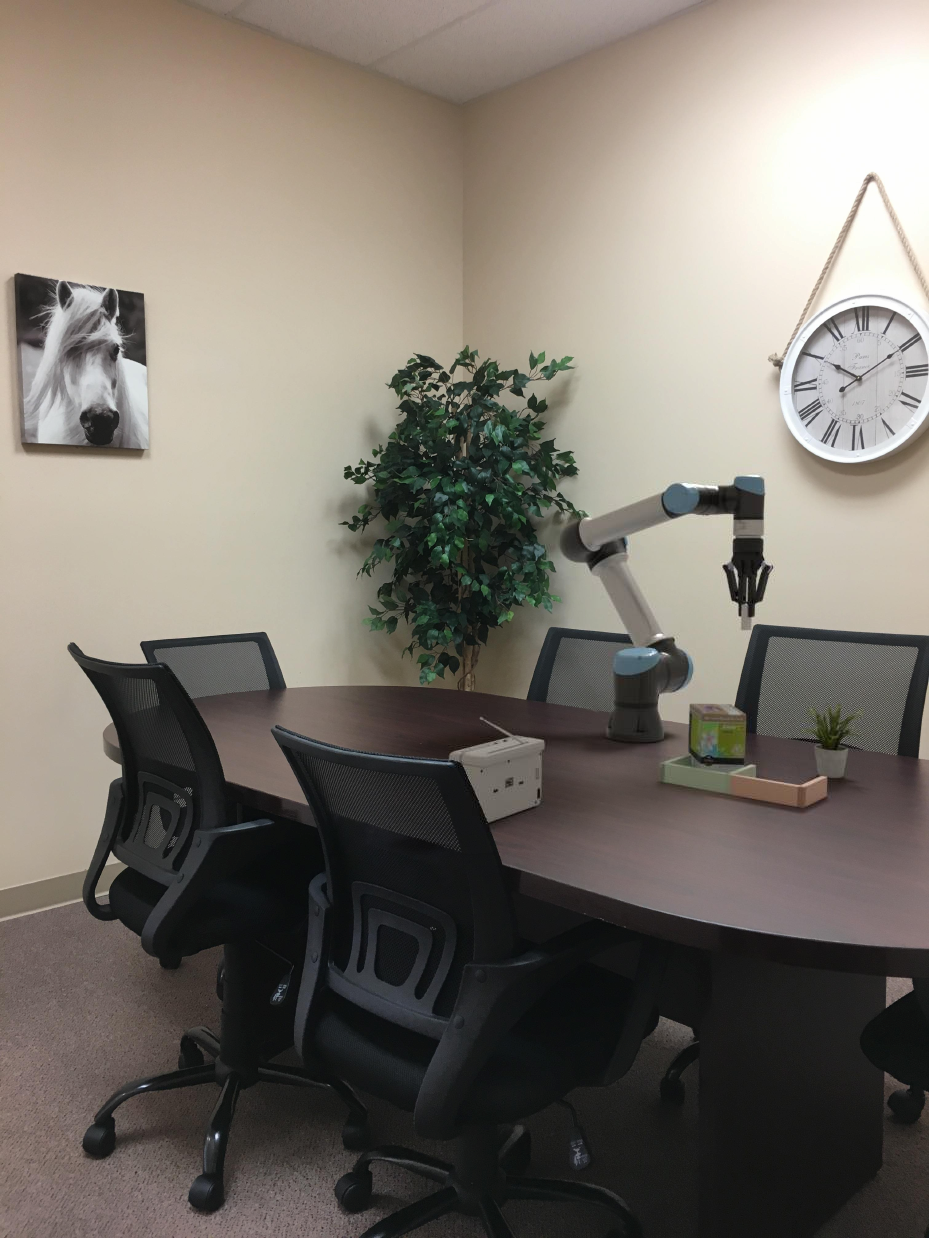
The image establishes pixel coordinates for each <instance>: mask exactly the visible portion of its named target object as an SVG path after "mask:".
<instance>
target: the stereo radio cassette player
mask: <svg viewBox="0 0 929 1238" xmlns="http://www.w3.org/2000/svg"><path fill="white" fill-rule="evenodd" d="M479 720H481V721H484V722H486V723H487V724H489V726H492V728H494V729H497V730H499V731H500V732H501V733H503V734H505V735H506V736H508V737H506V738H502V739H497V740H494V741H489V742H485V743H481V744H478V745H474V746H470V747H466V748H462V749H460V750H459V749H458V750H454V751H452V752H450V753H449V756H448V761H449V760H454V761H458V762H460V763H461V764H462V765H463V767H464V769H465V771H466V774H467V776H468V779H469V781H470V783H471V785H472V787H473V789H474V791H475V794H476V796H477V798H478V800H479V803H480V805H481V807H482V809H483V812H484V814H485V817H486V818H487V821H488V823H492V822H494V821H497V820H500V819H502V818H506V817H508V816H511V815H514V814H517V813H519V812H523V811H524V810H527V809H531V808H533V807H537V806H538V805H540V803H541V798H542V751H543V750H545V746H546V745H545V740H544V739H539V738H534V737H526V736H520V735H513V734H512V733H510V732H508V731H506V730H504V729H503V728H501V727H500V726H497V725H496V724H493V723H491V722H490V721H488V720H486V719H484V718H483V717H482V716H480V717H479ZM488 823H487V824H488Z"/></svg>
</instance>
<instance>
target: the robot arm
mask: <svg viewBox="0 0 929 1238" xmlns="http://www.w3.org/2000/svg"><path fill="white" fill-rule="evenodd" d="M732 483H733V484H726V485H721V484H720V485H710V484H698V483H697V484H696V483H691V482H690V483H689V482H682V481H681V482H674V483H673V484H670V485H669V486H668V487H667V488H666V489H665V491H662V492H659V493H657V494H656V493H655V494H654V495H651V496H650V497H649V496H648V497H646V498H644V499H641V500H639V501H636V502H633V503H630V504H628V505H626V506H622V507H620V508H618V509H615V510H613V511H609V512H606V513H604V514H602V515H599V516H597V517H594V518H592V517H589V516H587V517H584V518H580V519H578V520H574V521H572V522H570V523H569V524H568V523H567V525H565V526H564V527H563V528H562V530H561V532H560V534H559V536H558V547H559V551H560V552H561V555H562V556H564V557H565V558H566V559H567V560H568V561H570V562H574V563H577V564H580V563H581V564H582V563H583V564H585V563H586V566H587V567H588V569H589V571H590V573H591V575H592V576H595V577H598V578H599V579H600V581H601V583H602V585H603V587H604V590H605V591H606V593H607V595H608V596H609V599H610V600H611V602H612V604H613V606H614V609H615V610H616V613H617V614H618V617H619V618H620V620H621V622H622V624H623V626H624V628H625V630H626V632H627V634H628V636H629V638H630V640H631V641H632V644H633V646H634V648H626V649H623V650H620V651H618V652H616V653H615V655H614V660H613V666H612V668H613V707H612V708H613V709H612V711H611V714H610V717H609V721H608V722H607V723H608V724H607V725H606V738H608V739H609V740H610V739H611V740H612V741H613V740H614V741H618V742H626V743H654V742H659V741H662V740H664V739H665V729H664V728H665V727H664V726H663V722H662V719H661V716H660V712H659V707H658V706H659V695H663V694H671V693H676V692H678V691H681V690H683V689H685V688H686V687H687V686H688V685H689V684H690V683H691V680H692V679H693V675H694V662H693V660H692V657H691V656H690V654H689V653H688V652H687V651H685V650H684V649H681V648H678V647H677V645H676V643H675V641H674V640H673V638H672V637H671V636H668V635H665V634H664V632H663V631H662V629H661V627H660V624H659V622H658V621H657V619H656V617H655V615H654V613H653V611H652V610H651V607H650V606H649V604H648V602H647V600H646V598H645V596H644V594H643V592H642V591H641V589H640V586H639V585H638V582H637V580H636V579H635V577H634V574H633V573H632V571H631V570H630V568H629V566H628V563H627V562H628V559H629V554H628V543H629V542H628V539H627V538H628V537H627V536H631V535H633V534H636V533H639V532H642V531H644V530H647V529H650V528H652V527H655V526H658V525H661V524H664V523H666V522H669V521H672V520H674V519H678V518H681V517H683V516H686V515H690V514H691V515H697V516H708V517H709V516H714V515H715V516H716V515H717V516H718V515H732V517H733V523H732V536H733V537H735V538H733V539H732V556H731V558H730V561H729V562H727V563H725V564H722V570H723V571H724V573H725V575H726V580H727V585H728V590H729V591H728V592H729V594H730V595H729V597H730V600H731V602H735V603H737V605H738V613H737V614H738V615H737V616H738V617H741V619H740V631H751V630H752V619H753V618H754V617H755V615H756V604H758V603H761V602H763V599H764V597H765V593H766V589H767V584H768V581H769V577H770V575H771V573H772V571H773V569H774V565H773V564H769V563H768V562H767V561H766V560H765V557H764V545H765V544H764V538H763V537H764V535H765V521H764V520H765V517H764V516H765V495H766V491H765V487H766V486H765V479H764V478H763V477H762V476H761V475H739V476H738V475H737V476H735V477H734V478H733V482H732ZM762 536H763V537H762ZM734 569H735V570H736V571H737V578H738V580H737V578H736V574H735V570H734ZM760 569H761V571H760V574H759V579H758V571H759V570H760ZM757 579H758V583H757Z"/></svg>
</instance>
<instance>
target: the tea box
mask: <svg viewBox="0 0 929 1238" xmlns="http://www.w3.org/2000/svg"><path fill="white" fill-rule="evenodd" d="M688 713H689V714H688V715H689V716H688V745H687V746H688V748H687V749H688V750H687V754H688V755H692V767H695V768H701V769H706V770H712V771H718V772H724V773H730V772H732V771H735V770H738V769H740V768H743V767H745V766H746V765H745V764H746V761H745V758H746V737H747V736H746V734H747V733H746V732H747V731H746V730H747V714H746V713H745V712H744V711H742V710H740V709H739V708H737V707H736V706H734V705H732V704H729V703H728V704H727V703H689V711H688Z"/></svg>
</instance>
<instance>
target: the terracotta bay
mask: <svg viewBox="0 0 929 1238" xmlns="http://www.w3.org/2000/svg"><path fill="white" fill-rule="evenodd" d="M827 792H828V777H824V776H820V775H819V777H816V778H814V779H811V780H810V781H807V782H805V783H803V784H794V783H787V782H782V781H781V782H780V781H775V780H770V779H764V778H757V777H756V778H753V777H747V776H742V775H736V774H732V775H731V777H730V794H729V795H730V796H731V795H732V796H736V797H743V798H748V799H752V800H756V801H757V800H759V801H762V802H768V803H769V802H770V803H773V804H779V805H785V806H789V807H791V806H792V807H796V808H799V809H800V808H801V809H804V808H806V807H808V806H809V805H813V804H814V803H816V802H818V801H821V800H823V799H825V798H826V797H827V796H828V793H827Z"/></svg>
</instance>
